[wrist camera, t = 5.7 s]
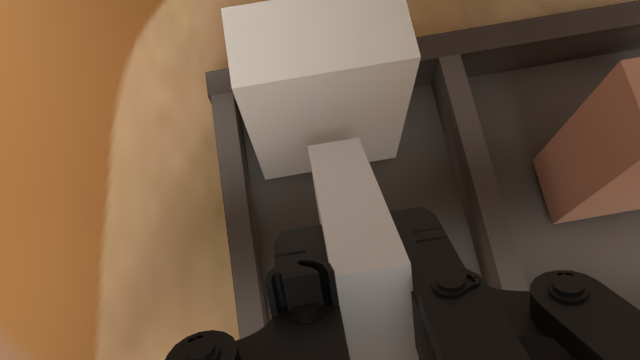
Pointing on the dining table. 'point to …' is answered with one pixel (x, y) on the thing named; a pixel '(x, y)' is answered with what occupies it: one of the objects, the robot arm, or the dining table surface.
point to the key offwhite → (320, 76)
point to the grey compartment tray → (459, 158)
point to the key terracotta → (596, 152)
